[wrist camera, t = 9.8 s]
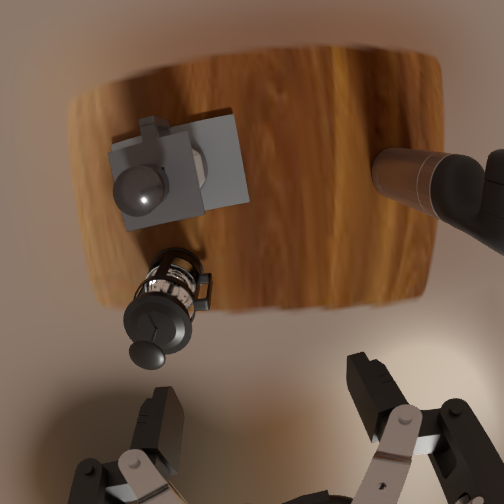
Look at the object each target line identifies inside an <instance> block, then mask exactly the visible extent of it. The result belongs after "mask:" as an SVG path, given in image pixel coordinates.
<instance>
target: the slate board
mask: <svg viewBox="0 0 504 504" xmlns="http://www.w3.org/2000/svg"><path fill="white" fill-rule="evenodd" d="M170 129H171V135H172V134H176V133H180V132H184V131H189V136H190V141H191V144H192V145H194V146H196V147H197V148H198V149H199V150H200V151H201V152H202V153H203V155H204V157H205V159H206V161H207V165H208V175H207V180H206V182H205V184H204V186H203V188H202V189H201V190H200V191H201V195H202V200H203V205H204V209H205V210H210V209H215V208H220V207H225V206H230V205H235V204H241V203H246V202H250V201H249V195H248V190H247V184H246V179H245V173H244V168H243V162H242V157H241V152H240V146H239V141H238V135H237V130H236V124H235V119H234V114H231V115H225V116H220V117H215V118H210V119H205V120H200V121H196V122H191V123H187V124H183V125H178V126H174V127H170ZM138 143H142V137H141V136H137V137H134V138H131V139H127V140H124V141H121V142H118V143H115V144H111V149H112V151H115V150H118V149H122V148H125V147H128V146H132V145H135V144H138Z"/></svg>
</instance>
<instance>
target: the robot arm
mask: <svg viewBox="0 0 504 504" xmlns="http://www.w3.org/2000/svg"><path fill="white" fill-rule="evenodd" d="M372 180H373V183H374V186H375V187H376V189H377V191H378V192H379V193H380V194H382V195H383V196H385V197H387V198H390V199H392V200H395V201H397V202H399V203H402V204H404V205H407V206H409V207H411V208H414V209H416V210H418V211H421V212H423V213H425V214H428V215H430V216H432V217H435V218H437V219H439V220H441V221H444V222H446V223H448V224H450V225H451V226H453V227H455V228H457V229H459V230H461V231H463V232H465V233H467V234H468V235H470V236H472V237H474V238H475V239H477V240H478V241H480V242H482V243H483V244H485V245H486V246H488V247H489V248H491V249H493V250H495V251H496V252H498V253H499V254H501V255H503V256H504V149H500V150H495V151H493V152H491V154H490V155H489V156H488V159H487V164H486V170H485V172H484V170H483V168H482V166H481V165H480V164H479V163H478V162H477V161H476V160H474V159H473V158H471V157H469V156H465V155H459V154H451V153H442V152H434V151H425V150H416V149H406V148H387V149H384V150H383V151H381V152H380V153H379V154H378V155H377V157H376V158H375V160H374V162H373V165H372ZM346 380H347V386H348V390H349V392H350V394H351V396H352V399H353V401H354V404H355V406H356V408H357V410H358V412H359V415H360V417H361V419H362V422H363V424H364V426H365V429H366V431H367V433H368V436H369V438H370V440H371V443H374V442H376V441H379V442H380V444H379V446H378V448H377V451H376V453H375V454H374V456H373V458H372V461H371V463H370V465H369V468H368V470H367V472H366V474H365V477H364V479H363V481H362V483H361V485H360V487H359V489H358V491H357V493H356V495H355V497H354V499H353V498H350V497H346V496H340V495H329V494H328V490H325V491H321V492H317V493H313V494H308V495H303V496H300V497H298V498H295V499H293V500H290V501H288V502H285V503H282V504H397V501H398V498H399V496H400V493H401V491H402V488H403V485H404V483H405V480H406V477H407V474H408V471H409V468H410V465H411V461H412V460H411V458H412V455H420V454H428V456H429V459H430V461H431V463H432V465H433V468H434V470H435V472H436V475H437V477H438V479H439V482H440V484H441V487H442V489H443V492H444V494H445V496H446V499H447V502H448V504H504V463H503V462H502V460H501V458H500V456H499V454H498V452H497V451H496V449H495V447H494V445H493V444H492V442H491V440H490V439H489V437H488V435H487V434H486V432H485V431H484V429H483V427H482V425H481V424H480V422H479V421H478V419H477V417H476V416H475V414H474V413H473V411H472V409H471V408H470V406H469V405H468V404H467V402H465V401H464V400H462V399H458V398H455V399H454V398H453V399H449V400H448V401H446V402H445V403H444V404H443V405H442V407H441V408H439V409H432V410H419V409H418V408H417V407H415V406H413V405H410V404H409V403H408V402H407V400H406V399H405V397H404V395H403V394H402V392H401V391H400V389H399V387H398V386H397V384H396V382H395V381H394V380H393V378H392V376H391V375H390V373H389V371H388V370H387V368H386V366H385V365H384V364H382V363H381V362H379V361H378V360H377V359H375V360H372V361H369V359H368V358H367V356H366V354H365V353H364V352H360V353H356V354H352V355H349V356H347V374H346ZM183 424H184V411H183V408H182V405H181V403H180V402H179V400H178V398H177V396H176V393H175V391H174V389H173V388H172V387H171V386H168V387H156V388H155V389H154V393H153V397H152V398H148V399H146V400H145V402H144V403H143V405H142V406H141V408H140V412H139V417H138V419H137V425H136V427H135V431H134V435H133V439H132V443H131V447H130V450H129V451H126V452H125V453H123V454H122V455H121V457H120V458H119V460H118V461H114V462H110V463H105V464H101V463H100V462H99V461H97V460H96V459H93V458H88V459H85V460H83V461H81V462H80V463H79V464H78V466H77V468H76V471H75V475H74V479H73V483H72V487H71V492H70V496H69V501H68V504H131V501H133V500H139V501H138V504H188V503H187V502H186V501H185V500H184V498H183V497H182V496H181V495H180V494H179V492H178V491H177V490H176V489H175V488H174V486H173V485H172V484H171V483H170V474H178V472H179V462H180V451H181V443H182V434H183Z"/></svg>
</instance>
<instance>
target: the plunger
mask: <svg viewBox="0 0 504 504" xmlns="http://www.w3.org/2000/svg"><path fill="white" fill-rule="evenodd" d="M168 192H169V179H168V176H167V174H166V173H165V171H164V170H163V169H162V168H160V167H159V166H157V165H154V164H143V165H139V166H135V167H131V168H128V169H126V170H124V171H123V172H122V173H121V174H120V175H119V176H118V177H117V179H116V181H115V183H114V188H113V196H114V200H115V202H116V204H117V206H118V208H119V209H120V210H121V211H122V212H124V213H125V214H127V215H129V216H133V217H141V216H145V215H147V214H149V213H150V212H152V211H153V210H154V209H155V208H156V207H157V206H158V205H160V204H161V203H162V202H163V201H164V200H165V198H166V197H167V195H168Z"/></svg>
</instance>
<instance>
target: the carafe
mask: <svg viewBox="0 0 504 504" xmlns="http://www.w3.org/2000/svg"><path fill="white" fill-rule="evenodd" d="M138 121H139V126H140V132H141V137H142V143H138V144H135V145H132V146H128V147H125V148H122V149H118V150H115V151H112V152H109V153H108V156H109V161H110V166H111V170H112V175H113V179H114V183H115V181H116V179H117V177H118V176H119V175H120V174H121V173H122V172H123V171H124V170H126V169H128V168H131V167H135V166H139V165H143V164H154V165H157V166H159V167H160V168H162V169H163V170H164V171H165V173H166V174H167V176H168V179H169V192H168V195H167V197H166V198H165V200H164V201H163V202H162V203H161V204H160V205H158V206H157V207H156V208H155V209H154V210H153V211H152V212H150V213H149V214H147V215H145V216H141V217H133V216H129V215H127V214H125V213H124V212H122V211H121V212H122V216H123V219H124V223H125V227H126V230H127V232H128V231H132V230H136V229H141V228H145V227H149V226H154V225H158V224H163V223H167V222H172V221H177V220H181V219H186V218H191V217H196V216H201V215H205V209H204V205H203V200H202V195H201V191H200V190H201V189H202V188H203V186H204V184H205V182H206V180H207V175H208V165H207V161H206V159H205V157H204V155H203V153H202V152H201V151H200V150H199V149H198V148H197V147H196V146H194V145H192V144H191V141H190V136H189V131H184V132H180V133H176V134H172V135H171V129H170V124H169V121H167V120H164V119H162V118H159V117H157V116H154V115H152V116H149V117H145V118H142V119H138Z"/></svg>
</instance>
